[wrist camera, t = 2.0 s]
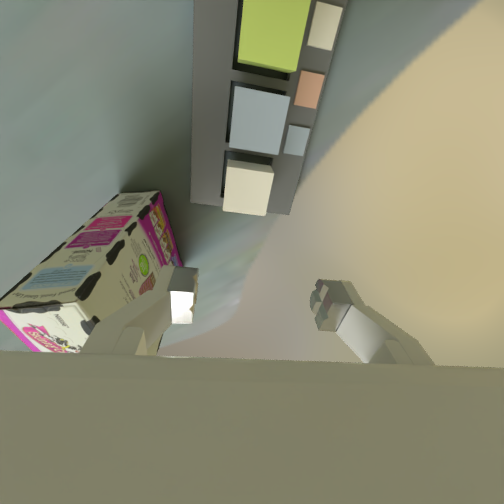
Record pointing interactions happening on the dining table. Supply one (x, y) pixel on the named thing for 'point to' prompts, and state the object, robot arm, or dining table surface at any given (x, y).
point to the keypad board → (221, 73)
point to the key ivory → (247, 187)
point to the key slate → (258, 120)
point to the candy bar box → (92, 274)
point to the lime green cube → (272, 33)
